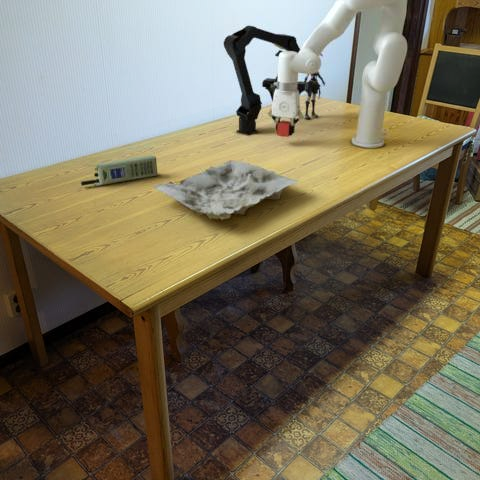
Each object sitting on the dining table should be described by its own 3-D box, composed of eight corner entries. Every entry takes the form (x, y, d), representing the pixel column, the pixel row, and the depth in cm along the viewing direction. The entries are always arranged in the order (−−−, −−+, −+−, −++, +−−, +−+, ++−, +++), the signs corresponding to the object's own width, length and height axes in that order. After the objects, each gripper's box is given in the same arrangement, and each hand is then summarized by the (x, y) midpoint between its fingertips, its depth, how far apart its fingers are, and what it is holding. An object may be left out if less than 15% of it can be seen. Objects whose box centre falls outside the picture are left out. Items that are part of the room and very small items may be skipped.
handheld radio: (158, 176, 170) (83, 189, 160) (155, 173, 172) (80, 186, 162) (156, 157, 167) (79, 169, 157) (153, 154, 169) (77, 166, 159)
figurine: (304, 121, 228) (309, 51, 213) (294, 118, 232) (298, 49, 217) (325, 115, 237) (331, 47, 222) (315, 113, 240) (320, 46, 226)
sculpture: (145, 207, 151) (219, 236, 133) (144, 188, 148) (218, 215, 130) (230, 174, 176) (301, 195, 158) (230, 157, 173) (302, 177, 155)
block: (281, 131, 202) (282, 120, 200) (292, 133, 200) (292, 121, 198) (277, 135, 198) (277, 123, 196) (288, 137, 196) (288, 125, 194)
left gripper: (258, 68, 207) (257, 107, 215) (302, 72, 201) (299, 112, 209) (267, 64, 216) (266, 101, 224) (309, 68, 210) (306, 105, 217)
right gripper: (262, 86, 190) (261, 133, 199) (306, 90, 184) (302, 139, 193) (269, 82, 196) (268, 128, 205) (311, 86, 190) (308, 133, 199)
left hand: (283, 105), depth 218 cm, fingers open, 9 cm apart
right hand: (284, 133), depth 199 cm, fingers closed on block, 4 cm apart
